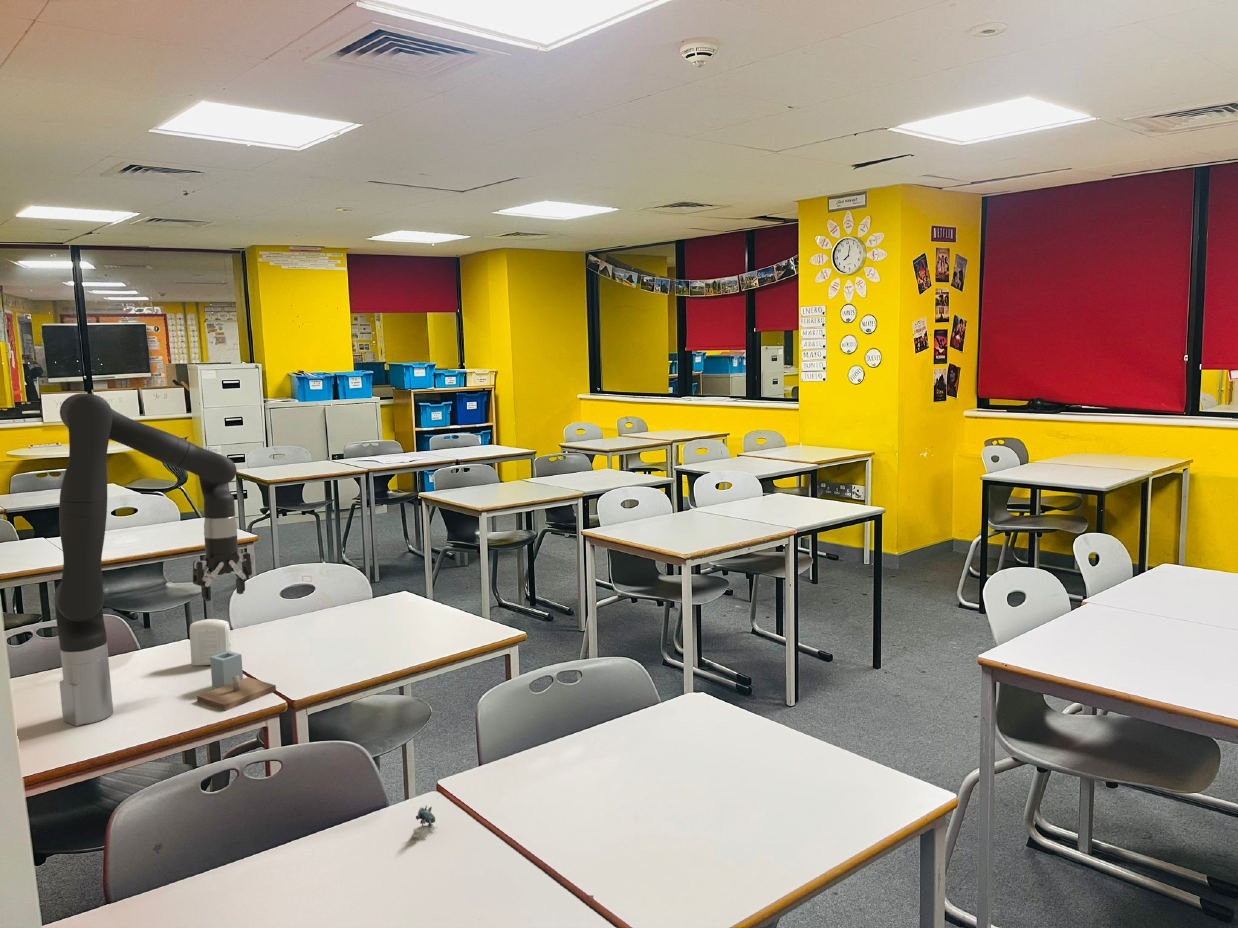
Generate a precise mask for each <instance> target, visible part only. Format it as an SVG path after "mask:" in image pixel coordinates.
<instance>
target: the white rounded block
mask: <svg viewBox="0 0 1238 928" xmlns="http://www.w3.org/2000/svg"><path fill="white" fill-rule="evenodd" d="M230 630H231V629H230V623H229V622H228V621H227V620H222V619H218V618H217V619H216V618H208V619H202V620H198V621H195V622H192V623H191V624H190V626H189V646H190V647H189V648H190V660H191V664H190V665H192V666H194V667H195V666H211V663H210V657H212V656H215V655H218V654H221V653H224V652H227V651H231V652H232V643H231V631H230Z"/></svg>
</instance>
